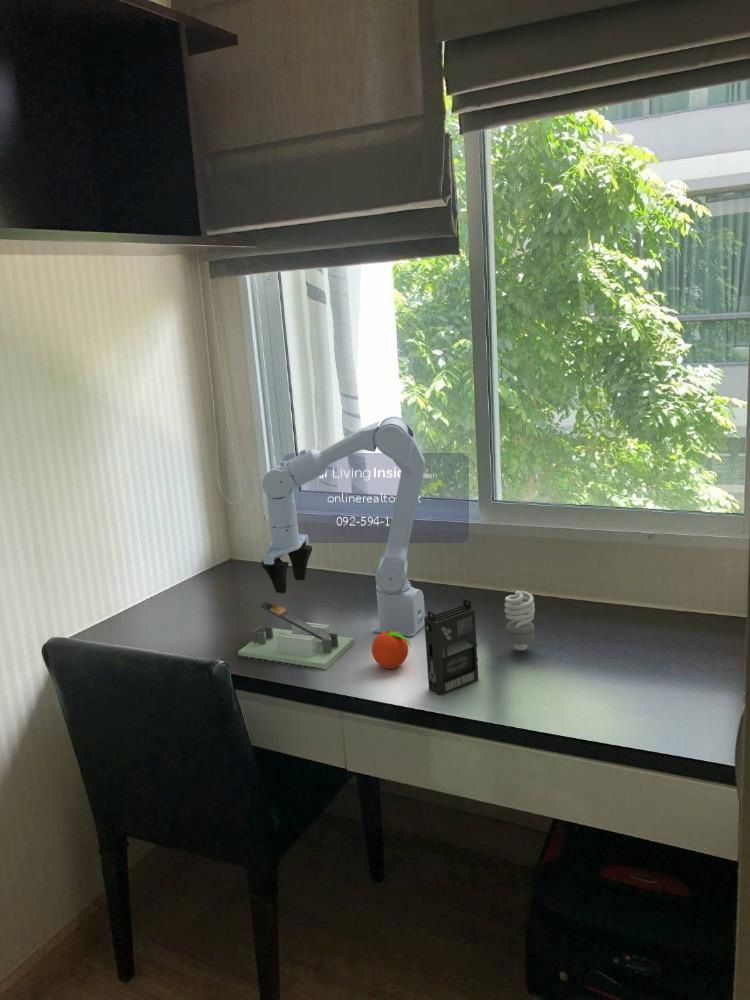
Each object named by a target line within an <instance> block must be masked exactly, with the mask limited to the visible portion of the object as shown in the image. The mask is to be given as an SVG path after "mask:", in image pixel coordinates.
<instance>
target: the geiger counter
mask: <svg viewBox="0 0 750 1000" xmlns="http://www.w3.org/2000/svg"><path fill="white" fill-rule="evenodd" d="M462 601H463V602H462V603H460V604H458V606H455V607H452V608H450V609H446V610H443V611H441V612H438V613H435V612H433V611H431V610H426V611H427V613H426V614H427V615H425V617H424V623H425V625H424V633H425V634H424V636H425V638H424V639H425V650H426V663H427V664H426V665H427V679H428V690H429V691H430V692H432V693H433V694H435V695H437V696H444V695H447V694H450V693H452V692H454V691H456V690H459V689H461V688H464V687H466V686H468V685H471V684H473V683H475V682H479V667H478V665H479V664H478V661H479V658H478V649H477V648H478V643H477V627H476V623H477V622H476V608H475V607H472V603H471V600H470V599H467V598H465V597H464V598H463V599H462Z"/></svg>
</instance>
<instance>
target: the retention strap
mask: <svg viewBox="0 0 750 1000" xmlns="http://www.w3.org/2000/svg"><path fill="white" fill-rule="evenodd" d="M260 608H261V609H263V610H265V611H266V612H268V613H270V614H272V615H274V616H275V617H277V618H279V619H281V620H283V621H285V622H287V623H289V624H290V625H291V626H292V625H294V626H296V627H298V628H300V629H302V630H304V631H305V632H307V633H309V634H311V635H313V636H315V637H317V638H319V639H320V640H322V639H323V638H324V639H330V642H332V641H333V640H334V637H333V636H330V635H328V634H326V633H324V632H322V631H320V630H318V629H316V628H314V627H313V626H311V625H309V624H307V623H308V622H306V623H305V621H303V620H301V619H299V618H298V617H295V616H294V615H292V614H290V613H288V612H286V611H287V609H286V608H284V607H282V606H280V605H278V604H271V603H269V602H267V601H265V602H263V603H262V604H261V605H260Z"/></svg>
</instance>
